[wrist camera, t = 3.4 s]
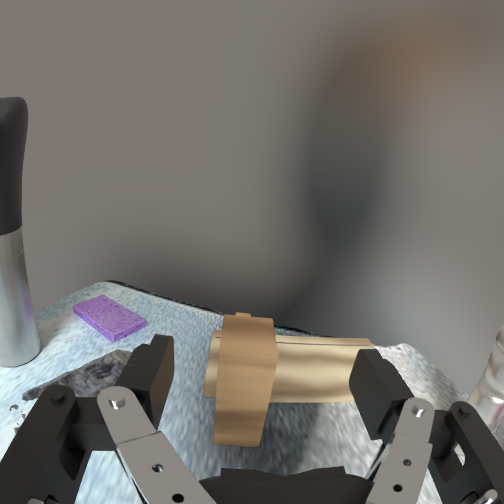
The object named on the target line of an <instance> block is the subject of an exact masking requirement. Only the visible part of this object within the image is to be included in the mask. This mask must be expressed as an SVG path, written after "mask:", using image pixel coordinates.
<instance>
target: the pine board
mask: <svg viewBox="0 0 504 504" xmlns="http://www.w3.org/2000/svg"><path fill="white" fill-rule="evenodd" d="M221 332H222V330H213V336H212V341H211V346H210V352H209V357H208V363H207V368H206V374H205V380H204V397H210V398H216V387H217V371H218V356H219V347H220V339H221ZM275 337H276V343H277V349H278V356H279V357H278V362H277V367H276V372H275V377H274V382H273V387H272V391H271V396H270V401H269V402H282V403H327V402H351V401H355V400H354V398H353V396H352V393H351V391H350V388H349V377H350V374H351V371H352V368H353V365H354V362H355V359H356V356H357V353H358V351H359V350H360V349H374V347H373V346H372V344H371V343H370V341H369V340H368V339H365V338H320V337H298V336H281V335H275Z"/></svg>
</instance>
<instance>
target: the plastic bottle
mask: <svg viewBox="0 0 504 504" xmlns="http://www.w3.org/2000/svg"><path fill="white" fill-rule="evenodd" d="M466 403H469V404H470V405H472V406H473V407H474V408H475V409H476V411H477V412H478V414H479V415H480V417H481V418H482V419H483V421H484V422H485V424H486V425H487V427H488V428H489V430H490V431H491V433H492V434H493V435H494V434H495V432H496V430H497V428H498V425H499V424H500V422H501V420H502V419H503V417H504V324H503V325H502V327H501V328H500V329H499V331H498V334H497V337H496V341H495V343H494V346H493V350H492V352H491V355H490V358H489V361H488V364H487V366H486V368H485V370H484V372H483V374H482V377H481V379H480V380H479V383H478V385H477V386H476V388H475V389H474V391H473V392H472V393H471V395H470V396H469V398H468V399H467V400H466ZM454 450H455V452H456V454H458V455H463V456H465V455H464V453H463V451H462V449H461V447H460V446H459V444H458V446H457V447H456V448H455V449H454Z"/></svg>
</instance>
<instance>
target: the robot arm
mask: <svg viewBox="0 0 504 504" xmlns="http://www.w3.org/2000/svg"><path fill="white" fill-rule="evenodd" d="M27 126H28V108H27V104H26V102H25V100H24V99H23V98H21V97H7V98H0V366H4V367H15V366H19V365H23V364H25V363H27V362H29V361H31V360H32V359H33V358H34V357H36V355H37V354H38V353H39V351H40V349H41V341H40V338H39V334H38V330H37V325H36V321H35V316H34V311H33V306H32V301H31V296H30V290H29V284H28V278H27V270H26V263H25V255H24V245H23V233H22V213H21V202H22V198H21V197H22V170H23V160H24V151H25V144H26V135H27ZM398 373H399V372H398V371H397V369H396V368H395V366H394V365H393V364H392V363H390V362H389V361H388V360H386V359H383V358H382V356H381V355H380V353H379V352H378V350H377V349H360V350H359V351H358V353H357V356H356V359H355V362H354V365H353V368H352V371H351V374H350V377H349V388H350V391H351V393H352V396H353V398H354V400H355V403H356V405H357V407H358V410H359V412H360V415H361V417H362V419H363V422H364V424H365V427H366V429H367V431H368V434H369V436H370V439H371V440H378V439H382V444H381V446H380V447H379V449H378V452H377V454H376V456H375V458H374V460H373V462H372V464H371V466H370V468H369V470H368V472H367V474H366V476H365V478H362V477H360V476H356V475H351V474H346V472H345V469H344V466H339V467H330V468H318V469H313V470H309V471H306V472H302V473H298V474H294V475H290V476H280V475H275V474H270V473H265V472H260V471H256V470H245V469H228V468H221V476H215V477H210V478H206V479H203V480H200V481H197V479H196V478H195V477H194V475H193V474H192V473H191V472H190V470H189V469H188V468H187V466H186V465H185V464H184V462H183V461H182V459H181V458H180V457H179V455H178V454H177V453H176V451H175V450H174V448H173V447H172V445H171V444H170V442H169V441H168V439H167V438H166V437H165V435H164V434H163V433H162V432H161V431H158V432H157V429H158V426H159V423H160V419H161V416H162V413H163V409H164V406H165V403H166V400H167V396H168V393H169V390H170V387H171V383H172V380H173V376H174V340H173V336H166V335H159V334H155V335H154V337H153V339H152V341H151V343H150V345H148V344H141V345H140V346H138V347H137V348H135V349H134V350H133V352H132V354H131V356H130V359H128V361H127V363H126V365H125V366H124V368H123V370H122V372H121V374H120V376H119V377H118V379H117V381H116V383H115V385H114V386H113V387H109V388H106V389H104V390H102V391H101V392H100V393H99V395H98V397H76V395H75V392H74V391H73V390H72V389H71V388H70V387H68V386H65V385H52V386H50V387H48V388H46V389H45V390H44V391H43V392H42V393H41V395H40V396H39V398H38V400H37V401H36V403H35V404H34V406H33V407H32V409H31V411H30V412H29V414H28V415H27V417H26V419H25V420H24V422H23V423H22V425H21V427H20V428H19V430H18V432H17V434H16V435H15V437H14V439H13V440H12V442H11V444H10V446H9V447H8V449H7V451H6V453H5V455H4V456H3V458H2V460H1V462H0V504H74V503H75V500H76V497H77V493H78V490H79V487H80V484H81V481H82V478H83V475H84V472H85V470H86V467H87V464H88V461H89V458H90V455H91V453H92V451H114V452H115V454H116V456H117V458H118V460H119V462H120V464H121V466H122V468H123V470H124V472H125V474H126V476H127V478H128V480H129V482H130V484H131V485H132V487H133V489H134V491H135V493H136V495H137V497H138V499H139V501H140V502H141V504H416V502H417V500H418V497H419V494H420V490H421V487H422V484H423V481H424V477H425V474H426V470H427V467H428V469H429V471H430V474H431V476H432V479H433V481H434V483H435V486H436V488H437V491H438V493H439V496H440V498H441V501H442V503H443V504H504V451H503V450H502V448H501V447H500V445H499V444H498V442H497V440H496V439H495V437H494V436H493V434H492V433H491V431H490V430H489V428H488V427H487V425H486V424H485V422H484V421H483V419H482V418H481V417H480V415H479V414H478V412H477V411H476V409H475V408H474V407H473V406H472V405H470V404H469V403H466V402H462V401H458V402H455V403H453V404H452V406H451V407H450V409H449V411H443V410H434V407H433V406H432V404H431V403H429V402H428V401H426V400H425V399H422V398H415V397H414V395H413V394H412V392H411V390H410V389H409V387H408V386H407V384H406V383H405V381H404V380H402V377H401V375H400V374H398ZM458 444H459V446H460V447H461V449H462V451H463V453H464V455H465V463H464V465H463V466H462V464H461V462H460V460H459V458H458V456H457V454H456V452H455V450H454V449H455V448H456V447H457V446H458Z"/></svg>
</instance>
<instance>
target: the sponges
mask: <svg viewBox="0 0 504 504" xmlns="http://www.w3.org/2000/svg"><path fill="white" fill-rule="evenodd" d="M73 311H74V312H75V313H76V314H77V315H78V316H80V317H81V318H82V319H83V320H85V321H86V322H87V323H88V324H90V325H91V326H92V327H94V328H95V329H96V330H97V331H99V332H100V333H101V334H102V335H104V336H105V337H106V338H108V339H109V340H110V341H112V342H116V341H118V340H120V339H122V338H124V337H126V336H128V335H130V334H132V333H134V332H136V331H138V330H140V329H142V328H144V327H145V326H146V324H145V323H146V319H144V318H142V317H140V316H139V315H137V314H135V313H131V311H129V310H128V309H126V308H124V307H123V306H121V305H119V304H118V303H116V302H114V301H113V300H111V299H109V298H108V297H106V296H105V295H103V294H102V295H100V296H98V297H96V298H93V299H91V300H89V301H86V302H83V303H81V304H77V305H75V306H73Z"/></svg>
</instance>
